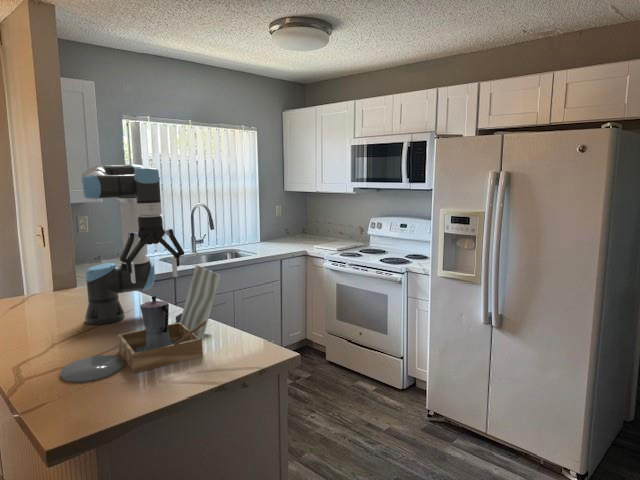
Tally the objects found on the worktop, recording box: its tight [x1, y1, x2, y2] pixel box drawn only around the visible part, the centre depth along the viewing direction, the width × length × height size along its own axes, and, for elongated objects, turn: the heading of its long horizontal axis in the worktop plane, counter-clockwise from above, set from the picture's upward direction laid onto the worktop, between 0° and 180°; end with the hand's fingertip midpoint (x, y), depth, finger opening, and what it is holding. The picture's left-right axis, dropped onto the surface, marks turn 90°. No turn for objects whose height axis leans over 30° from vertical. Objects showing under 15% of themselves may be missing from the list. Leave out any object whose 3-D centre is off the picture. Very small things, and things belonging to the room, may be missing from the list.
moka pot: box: [139, 295, 172, 351], centre depth 157 cm, size 10×15×20 cm, turn 51°
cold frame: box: [117, 264, 222, 374], centre depth 158 cm, size 22×30×27 cm
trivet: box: [59, 354, 125, 383], centre depth 146 cm, size 18×18×1 cm
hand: (154, 279), depth 154 cm, fingers open, 13 cm apart
